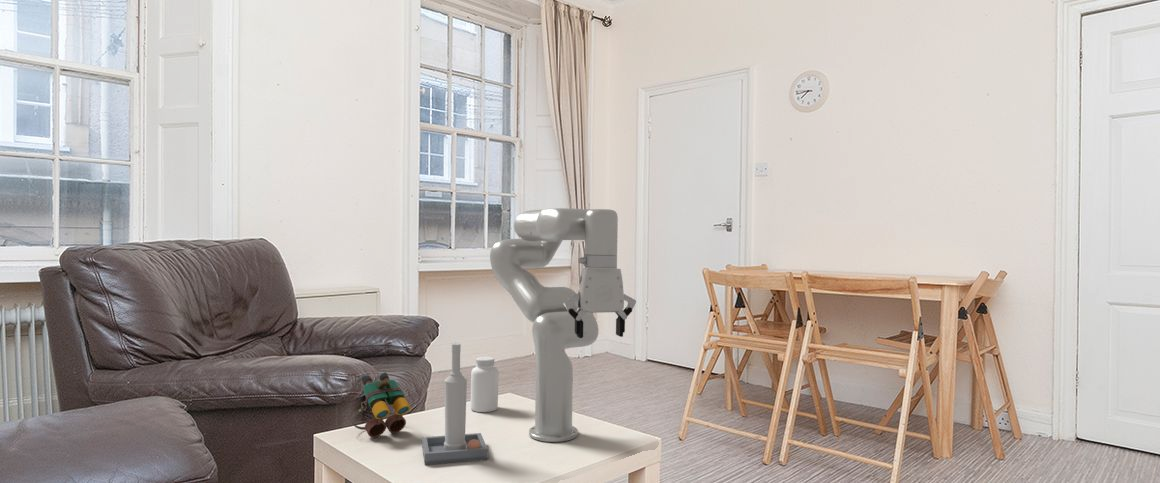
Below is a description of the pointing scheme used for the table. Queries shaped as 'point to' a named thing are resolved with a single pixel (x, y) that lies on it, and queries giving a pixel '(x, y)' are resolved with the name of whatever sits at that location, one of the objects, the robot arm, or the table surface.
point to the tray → (438, 455)
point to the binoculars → (383, 405)
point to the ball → (473, 444)
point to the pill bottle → (484, 385)
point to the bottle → (455, 404)
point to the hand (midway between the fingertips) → (599, 336)
